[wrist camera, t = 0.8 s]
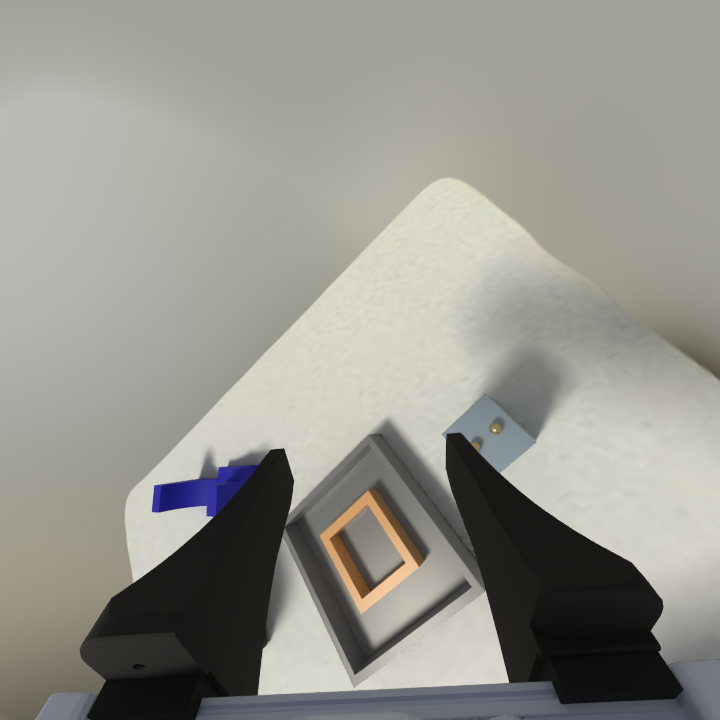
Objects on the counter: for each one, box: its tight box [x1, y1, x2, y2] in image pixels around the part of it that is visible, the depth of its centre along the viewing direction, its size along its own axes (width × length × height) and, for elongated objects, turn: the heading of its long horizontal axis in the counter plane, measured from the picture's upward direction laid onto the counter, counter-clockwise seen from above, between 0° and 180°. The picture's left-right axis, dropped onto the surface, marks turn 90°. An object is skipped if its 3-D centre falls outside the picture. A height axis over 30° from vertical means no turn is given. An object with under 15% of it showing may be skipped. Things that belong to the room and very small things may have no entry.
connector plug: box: [442, 394, 536, 473], centre depth 22 cm, size 4×4×7 cm
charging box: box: [283, 434, 485, 688], centre depth 27 cm, size 14×14×2 cm
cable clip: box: [152, 465, 258, 517], centre depth 37 cm, size 12×4×6 cm, turn 95°
